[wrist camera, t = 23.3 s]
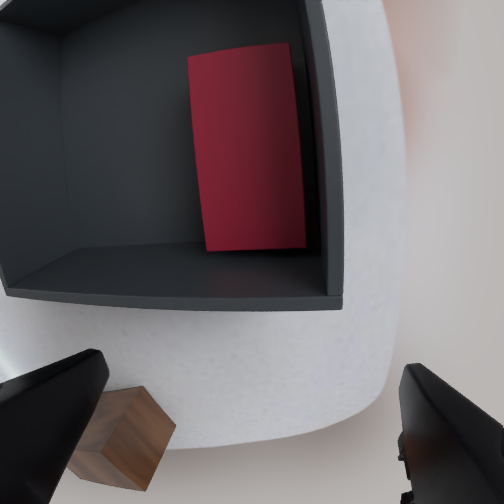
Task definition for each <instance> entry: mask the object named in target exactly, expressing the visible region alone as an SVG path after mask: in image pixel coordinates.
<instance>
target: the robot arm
mask: <svg viewBox="0 0 504 504" xmlns="http://www.w3.org/2000/svg"><path fill="white" fill-rule="evenodd" d="M108 378H109V368H108V366H107V363H106V361H105V358H104V355H103V353H102V352H101V351H100V350H96V349H87V350H85V351H82V352H80V353H77V354H75V355H72V356H70V357H67V358H65V359H62V360H60V361H57V362H55V363H52V364H50V365H47V366H45V367H42V368H39V369H37V370H34V371H32V372H29V373H26V374H24V375H21V376H19V377H16V378H13V379H11V380H8V381H5V382H4V383H0V504H49V502H50V500H51V498H52V496H53V494H54V491H55V489H56V487H57V485H58V483H59V481H60V479H61V476H62V474H63V472H64V470H65V468H66V466H67V464H68V462H69V460H70V458H71V456H72V454H73V452H74V450H75V448H76V446H77V444H78V442H79V440H80V438H81V436H82V435H83V433H84V431H85V429H86V427H87V425H88V423H89V421H90V419H91V417H92V415H93V413H94V411H95V409H96V407H97V404H98V402H99V399H100V397H101V395H102V392H103V390H104V387H105V385H106V383H107V380H108ZM399 400H400V408H401V416H402V427H403V438H404V444H405V449H404V451H403V452H402V453H401V454H400V455H399V456H398V460H399V461H404V463H405V468H406V474H407V479H408V480H411V486H412V491H409V492H405V493H402V495H401V501H400V504H504V428H503V425H501V424H500V423H499V422H497V421H496V420H495V419H494V418H492V417H491V416H490V415H488V414H487V413H486V412H484V411H483V410H482V409H480V408H479V407H478V406H477V405H475V404H474V403H473V402H471V401H470V400H469V399H467V398H466V397H465V396H463V395H462V394H461V393H459V392H458V391H457V390H455V389H454V388H453V387H451V386H450V385H449V384H447V383H446V382H445V381H444V380H442V379H441V378H439V377H438V376H437V375H436V374H434V373H433V372H431V371H430V370H429V369H427V368H426V367H425V366H423V365H422V364H421V363H412V364H407V365H406V366H405V367H404V371H403V375H402V378H401V382H400V386H399Z"/></svg>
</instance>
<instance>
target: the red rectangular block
mask: <svg viewBox="0 0 504 504" xmlns="http://www.w3.org/2000/svg"><path fill="white" fill-rule="evenodd" d="M187 66H188V80H189V93H190V106H191V117H192V128H193V139H194V149H195V159H196V168H197V177H198V186H199V195H200V203H201V211H202V219H203V227H204V235H205V242H206V249H207V251H208V252H209V251H236V250H264V249H292V248H306V247H307V238H306V215H305V197H304V181H303V166H302V153H301V140H300V129H299V118H298V108H297V98H296V89H295V80H294V71H293V63H292V55H291V47H290V43H289V42H286V43H274V44H264V45H255V46H247V47H240V48H233V49H227V50H221V51H215V52H210V53H205V54H200V55H195V56H191V57H187Z"/></svg>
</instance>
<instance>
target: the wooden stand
mask: <svg viewBox="0 0 504 504" xmlns="http://www.w3.org/2000/svg"><path fill="white" fill-rule="evenodd" d="M175 427H176V425H175V424H174V423H173V421H172V420H171V419H170V418H169V417H168V416H167V415H166V413H165V412H164V411H163V410H162V409H161V408H160V406H159V405H158V404H157V403H156V402H155V400H154V399H153V398H152V397H151V396H150V394H149V393H148V392H147V391H146V389H145V388H144V387H143V386H141V387H135V388H129V389H123V390H116V391H110V392H103V393H102V395H101V397H100V399H99V402H98V404H97V407H96V409H95V411H94V413H93V415H92V417H91V419H90V421H89V423H88V425H87V427H86V429H85V431H84V433H83V435H82V436H81V438H80V440H79V442H78V444H77V446H76V448H75V450H74V452H73V454H72V456H71V458H70V460H69V462H68V464H67V466H66V467H67V468H69V469H70V470H71V471H72V472H73V473H74V474H75V475H76V476H78V477H79V478H80V479H84V480H88V481H92V482H96V483H100V484H105V485H109V486H115V487H120V488H125V489H132V490H139V491H146V490H147V487H148V485H149V483H150V481H151V479H152V477H153V475H154V472H155V470H156V468H157V466H158V464H159V462H160V460H161V458H162V455H163V453H164V451H165V449H166V447H167V445H168V442H169V440H170V438H171V436H172V434H173V432H174V430H175Z"/></svg>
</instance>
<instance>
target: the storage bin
mask: <svg viewBox="0 0 504 504" xmlns="http://www.w3.org/2000/svg"><path fill="white" fill-rule="evenodd" d="M286 42H289V43H290V47H291V55H292V63H293V71H294V80H295V89H296V98H297V108H298V118H299V129H300V140H301V153H302V166H303V181H304V197H305V215H306V238H307V247H306V248H292V249H264V250H236V251H209V252H208V251H207V249H206V242H205V235H204V227H203V219H202V211H201V203H200V195H199V186H198V177H197V168H196V159H195V149H194V139H193V128H192V117H191V106H190V93H189V80H188V66H187V57H191V56H195V55H200V54H205V53H210V52H215V51H221V50H227V49H233V48H240V47H247V46H255V45H264V44H274V43H286ZM0 278H1V281H2V284H3V287H4V290H5V293H6V295H7V296H11V297H19V298H27V299H35V300H44V301H54V302H64V303H74V304H86V305H98V306H112V307H127V308H144V309H165V310H192V311H319V310H341V309H342V308H343V282H344V201H343V175H342V157H341V142H340V129H339V118H338V107H337V98H336V89H335V81H334V73H333V65H332V58H331V51H330V45H329V39H328V33H327V27H326V21H325V16H324V10H323V5H322V0H6V1H5V2H4V3H3V4H2V5H1V6H0Z"/></svg>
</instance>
